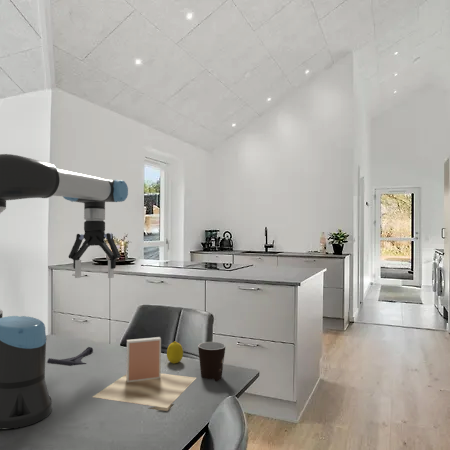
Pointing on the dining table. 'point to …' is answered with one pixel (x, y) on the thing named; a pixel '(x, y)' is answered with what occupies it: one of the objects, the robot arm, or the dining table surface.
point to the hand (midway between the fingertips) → (94, 277)
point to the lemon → (174, 352)
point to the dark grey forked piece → (73, 358)
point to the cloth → (148, 391)
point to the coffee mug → (211, 359)
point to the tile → (143, 359)
